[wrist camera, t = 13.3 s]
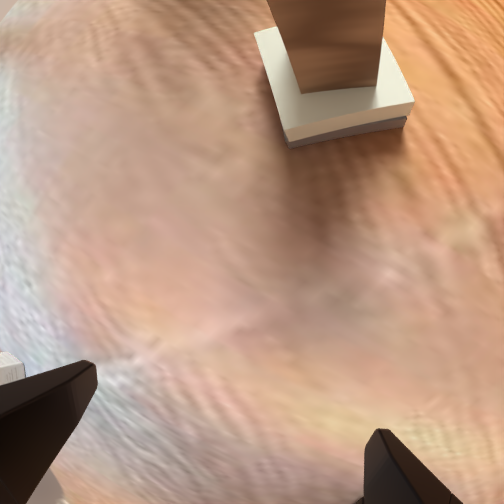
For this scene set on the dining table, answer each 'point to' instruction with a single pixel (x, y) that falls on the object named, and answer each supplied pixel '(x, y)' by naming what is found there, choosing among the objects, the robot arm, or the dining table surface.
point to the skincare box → (10, 368)
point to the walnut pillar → (331, 41)
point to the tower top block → (331, 94)
